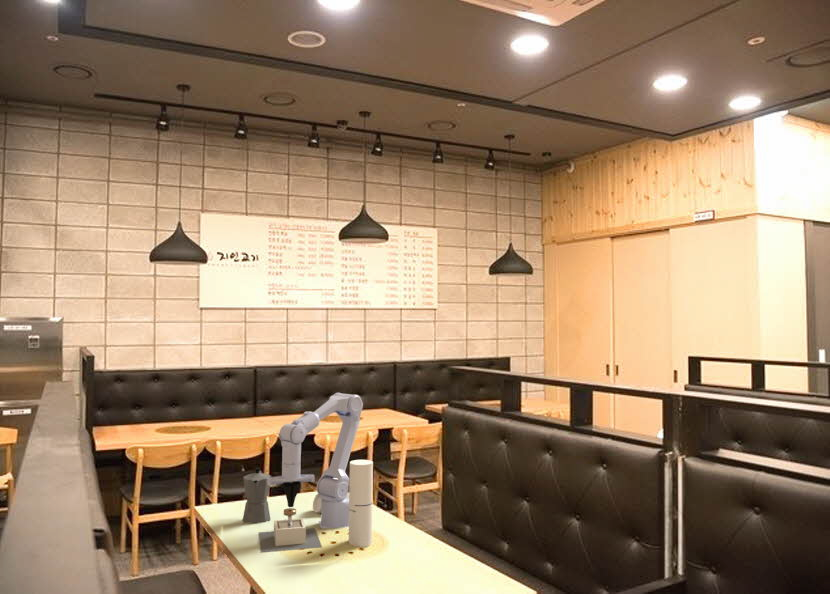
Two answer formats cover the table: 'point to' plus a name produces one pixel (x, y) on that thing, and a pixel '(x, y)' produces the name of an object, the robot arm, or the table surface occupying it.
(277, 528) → the press
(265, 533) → the mat
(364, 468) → the cylindrical container
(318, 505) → the spread jar
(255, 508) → the coffeepot
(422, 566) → the table surface
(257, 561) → the table surface
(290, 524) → the plunger
